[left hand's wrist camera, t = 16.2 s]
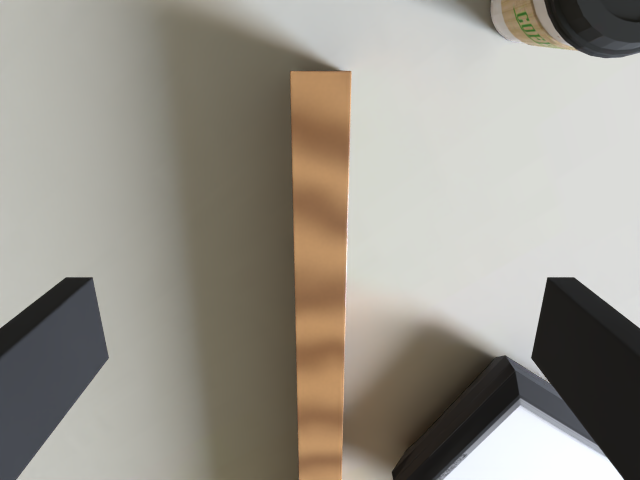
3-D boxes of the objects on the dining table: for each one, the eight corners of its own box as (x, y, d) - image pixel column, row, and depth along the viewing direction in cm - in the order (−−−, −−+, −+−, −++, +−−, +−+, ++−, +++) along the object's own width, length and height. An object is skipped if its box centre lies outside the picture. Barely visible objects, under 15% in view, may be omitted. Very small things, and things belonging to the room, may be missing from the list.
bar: (295, 72, 39) (289, 70, 32) (345, 72, 39) (351, 70, 32) (304, 553, 61) (301, 618, 54) (335, 553, 61) (338, 618, 54)
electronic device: (396, 497, 49) (518, 375, 43) (388, 452, 54) (494, 340, 49) (596, 599, 55) (726, 505, 49) (569, 549, 61) (683, 460, 55)
